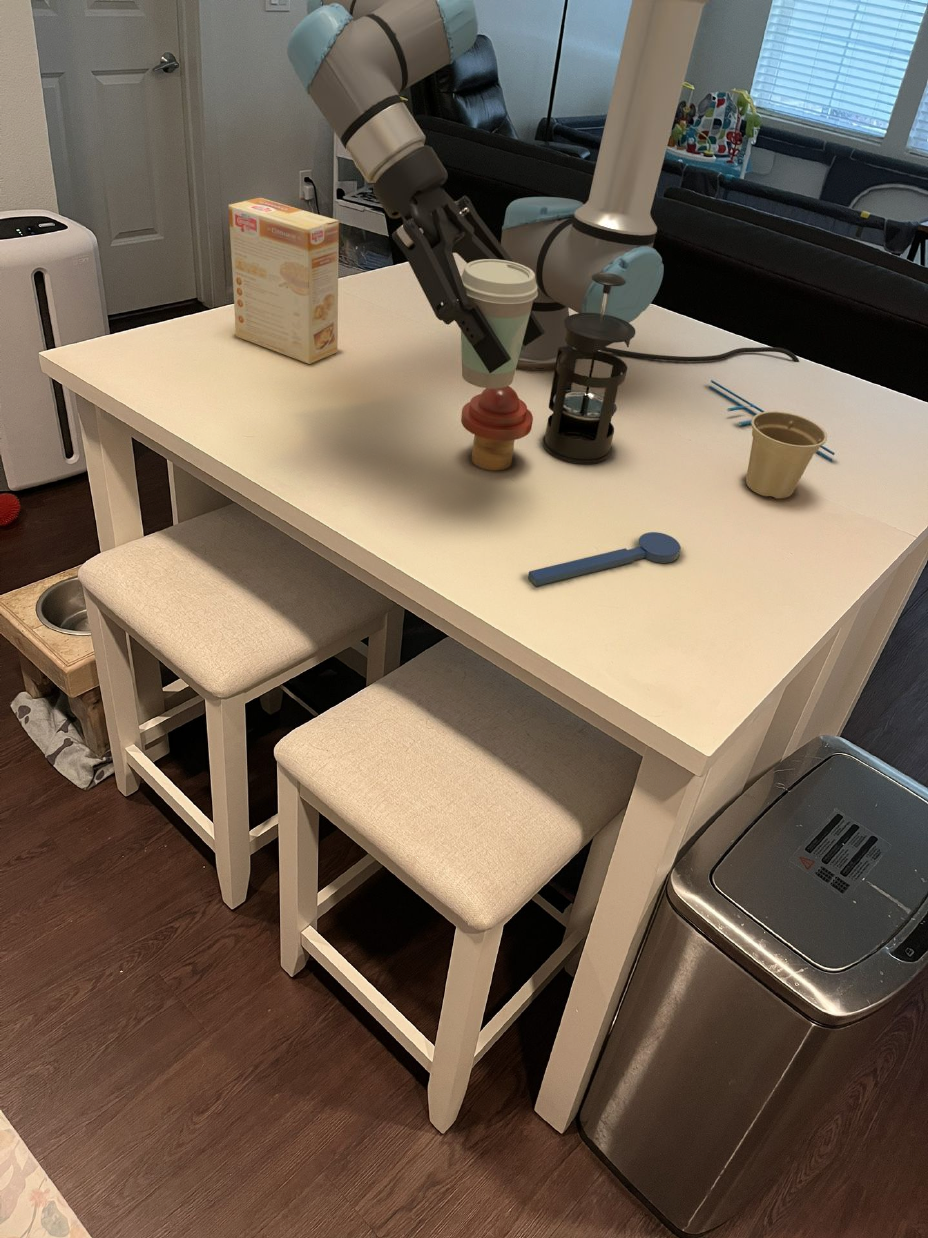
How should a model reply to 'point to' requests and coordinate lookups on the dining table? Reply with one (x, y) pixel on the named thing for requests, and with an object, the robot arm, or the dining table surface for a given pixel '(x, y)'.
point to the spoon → (611, 559)
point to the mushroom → (496, 426)
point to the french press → (586, 384)
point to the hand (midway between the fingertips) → (518, 352)
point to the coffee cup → (498, 315)
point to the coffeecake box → (285, 278)
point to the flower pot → (781, 451)
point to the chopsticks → (753, 412)
